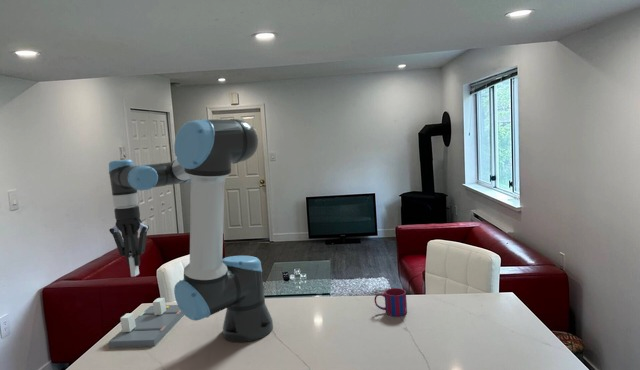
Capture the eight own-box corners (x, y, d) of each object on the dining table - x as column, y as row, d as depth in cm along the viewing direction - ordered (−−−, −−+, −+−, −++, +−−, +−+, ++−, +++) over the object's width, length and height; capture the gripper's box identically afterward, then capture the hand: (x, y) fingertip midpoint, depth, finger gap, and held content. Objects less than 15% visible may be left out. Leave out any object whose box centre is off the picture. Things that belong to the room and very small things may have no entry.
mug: (406, 317, 130) (405, 296, 130) (374, 316, 133) (373, 295, 132) (407, 308, 137) (406, 288, 136) (376, 307, 139) (375, 287, 138)
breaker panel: (154, 346, 124) (153, 338, 124) (109, 347, 125) (108, 340, 125) (189, 309, 150) (188, 303, 149) (151, 311, 151) (150, 304, 151)
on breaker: (129, 331, 130) (128, 317, 129) (122, 332, 130) (120, 318, 130) (135, 326, 133) (134, 313, 133) (128, 326, 134) (126, 313, 133)
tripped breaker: (161, 314, 141) (159, 301, 141) (154, 314, 142) (152, 302, 141) (166, 310, 145) (164, 297, 144) (159, 310, 145) (157, 298, 145)
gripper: (150, 203, 143) (158, 270, 146) (114, 205, 144) (122, 272, 147) (139, 207, 135) (148, 278, 138) (101, 209, 136) (110, 279, 139)
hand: (135, 275), depth 142 cm, fingers closed
